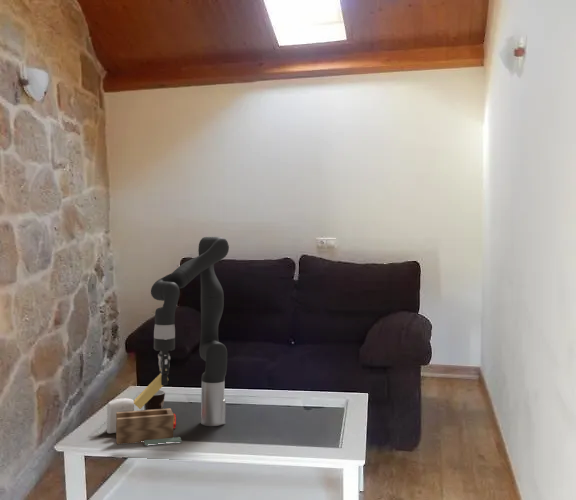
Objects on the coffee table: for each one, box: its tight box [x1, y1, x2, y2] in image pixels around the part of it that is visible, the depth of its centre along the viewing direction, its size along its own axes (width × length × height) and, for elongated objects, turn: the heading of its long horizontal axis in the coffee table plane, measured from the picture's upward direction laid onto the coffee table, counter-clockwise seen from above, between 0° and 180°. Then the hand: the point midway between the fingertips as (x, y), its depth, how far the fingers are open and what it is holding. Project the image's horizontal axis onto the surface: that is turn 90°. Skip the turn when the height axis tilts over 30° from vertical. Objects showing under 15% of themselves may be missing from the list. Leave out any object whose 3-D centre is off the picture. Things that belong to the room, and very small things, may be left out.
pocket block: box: [115, 407, 174, 445], centre depth 212 cm, size 20×9×9 cm, turn 108°
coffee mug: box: [144, 389, 166, 410], centre depth 237 cm, size 12×9×10 cm
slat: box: [133, 372, 169, 410], centre depth 206 cm, size 14×4×3 cm
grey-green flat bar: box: [143, 436, 183, 446], centre depth 208 cm, size 13×4×1 cm, turn 108°
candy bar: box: [172, 412, 177, 430], centre depth 229 cm, size 16×4×3 cm, turn 12°
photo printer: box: [106, 397, 135, 434], centre depth 219 cm, size 10×4×12 cm, turn 123°
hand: (163, 383), depth 207 cm, fingers closed on slat, 4 cm apart
